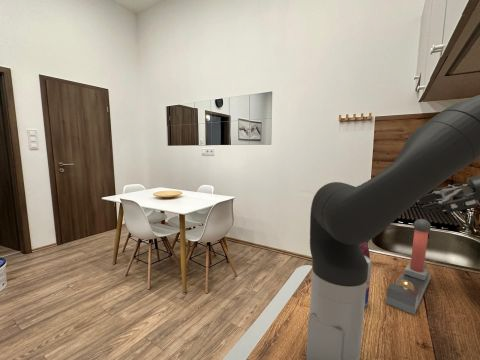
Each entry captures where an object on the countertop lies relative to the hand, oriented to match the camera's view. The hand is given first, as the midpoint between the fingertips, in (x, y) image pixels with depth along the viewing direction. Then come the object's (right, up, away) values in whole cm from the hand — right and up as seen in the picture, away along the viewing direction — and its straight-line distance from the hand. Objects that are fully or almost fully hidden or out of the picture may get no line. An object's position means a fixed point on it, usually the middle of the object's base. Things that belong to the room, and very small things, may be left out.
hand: (421, 205), depth 70 cm
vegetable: (-11, -21, +18) cm, 30 cm away
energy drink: (-22, -24, -7) cm, 33 cm away
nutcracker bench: (-4, -24, -1) cm, 24 cm away
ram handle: (+1, -21, +3) cm, 21 cm away
